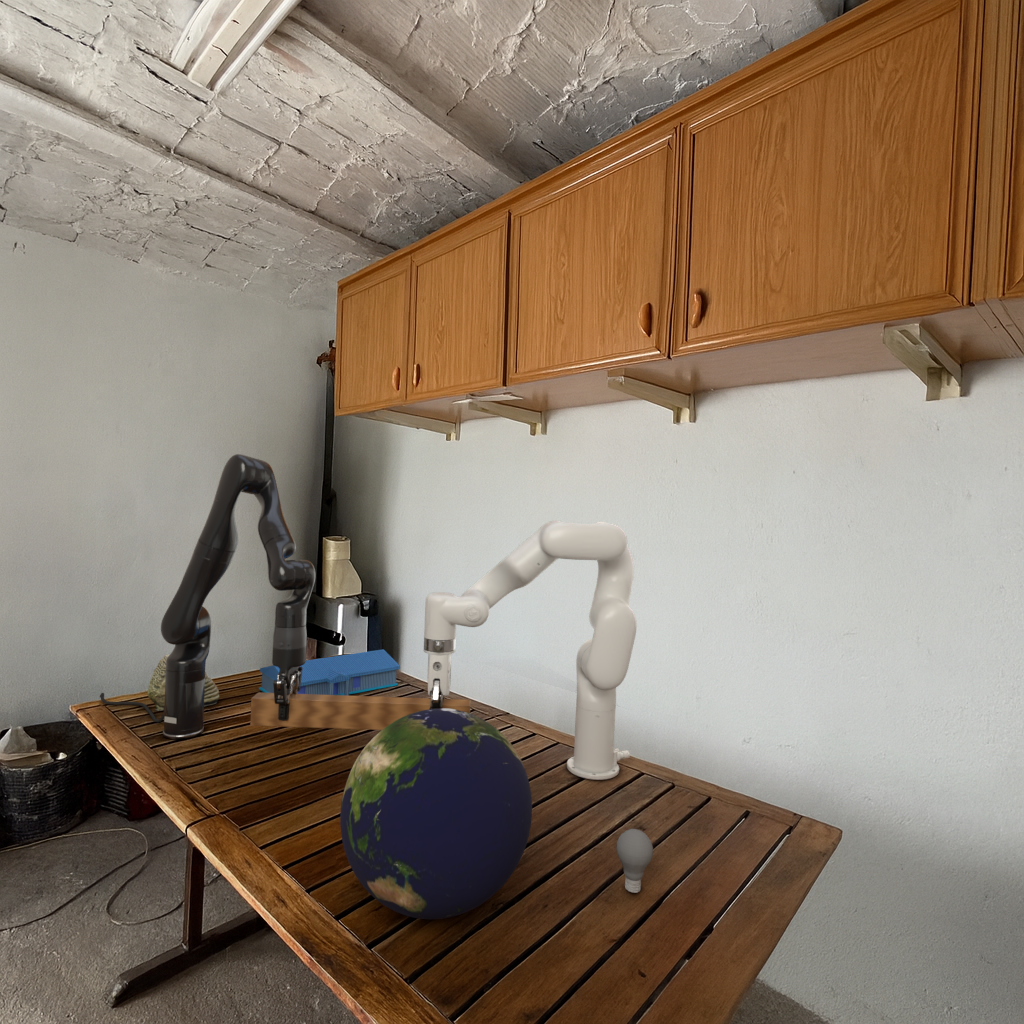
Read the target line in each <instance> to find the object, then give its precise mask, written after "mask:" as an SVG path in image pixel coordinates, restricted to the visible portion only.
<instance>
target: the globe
mask: <svg viewBox="0 0 1024 1024" xmlns="http://www.w3.org/2000/svg"><path fill="white" fill-rule="evenodd" d="M374 736H375V737H374ZM374 736H373V737H374V738H373V737H372V738H373V739H372V738H371V740H369V742H368V743H367V744H366V745H365V746H364V748H363V749H362V750H361V752H360V753H359V754H358V756H357V758H356V760H355V761H354V762H353V765H352V767H351V769H350V772H349V774H348V776H347V779H346V782H345V785H344V788H343V791H342V797H341V804H340V813H339V814H340V815H339V816H340V817H339V819H340V820H339V821H340V822H339V824H340V835H341V841H342V845H343V850H344V853H345V856H346V858H347V862H348V864H349V866H350V868H351V870H352V873H354V876H355V877H356V878H357V880H358V882H359V884H361V886H362V887H363V888H364V890H366V891H367V892H368V893H369V895H370V896H372V897H373V899H375V900H376V901H377V902H379V903H380V904H381V905H382V906H384V907H386V908H388V909H389V910H391V911H393V912H395V913H398V914H400V915H402V916H405V917H408V918H409V917H410V918H412V919H413V918H414V919H419V920H443V919H449V918H454V917H457V916H460V915H463V914H465V913H468V912H470V911H472V910H475V909H476V908H478V907H480V906H481V905H482V904H484V903H486V902H487V901H488V900H490V899H491V898H492V897H493V896H495V894H496V893H498V892H499V891H500V890H501V889H502V888H503V887H504V885H505V884H506V883H507V882H508V880H509V879H510V878H511V877H512V875H513V874H514V872H515V871H516V869H517V868H518V866H519V863H520V862H521V860H522V857H523V855H524V853H525V851H526V847H527V844H528V841H529V839H530V838H529V837H530V832H531V826H532V818H533V798H532V791H531V786H530V780H529V777H528V773H527V771H526V768H525V765H524V763H523V760H522V758H521V756H520V754H519V753H518V751H517V750H516V748H515V746H513V745H512V743H511V742H510V740H509V739H508V738H507V737H506V736H505V735H504V734H503V732H501V731H500V730H499V729H498V728H497V727H495V726H494V725H493V724H491V723H489V722H488V721H486V720H485V719H483V718H482V717H479V716H477V715H475V714H473V713H471V712H470V713H467V712H463V711H459V710H455V709H449V708H443V709H428V710H423V711H418V712H415V713H412V714H409V715H407V716H404V717H402V718H400V719H398V720H396V721H395V722H393V723H391V724H390V725H388V726H387V727H385V728H384V729H383V730H379V732H378V733H377V734H375V735H374Z"/></svg>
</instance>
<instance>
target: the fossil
mask: <svg viewBox="0 0 1024 1024" xmlns="http://www.w3.org/2000/svg"><path fill="white" fill-rule="evenodd" d="M169 655H170V654H165V655H164V656H163V657H162V658H161V659H160V660H159V662H158V663H157V666H156V667H155V669H154V670H153V672H152V675H151V677H150V680H149V684H148V688H147V697H148V699H149V700H150V701H152V703H153V704H154V706H155V711H158V712H159V711H162V712H163V711H164V705H165V674H166V659H167V657H168V656H169ZM220 698H221V696H220V690H219V688H218V686H217V685H216V683H215V682H214V681H213V679H212V678H211V677H209V675H208V674H207V672H206V671H205V693H204V707H207V706H213V705H215V704H217V703H218V701H219V699H220Z"/></svg>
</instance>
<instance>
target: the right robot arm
mask: <svg viewBox="0 0 1024 1024" xmlns="http://www.w3.org/2000/svg"><path fill="white" fill-rule="evenodd" d="M633 558H634V557H633V555H632V552H631V550H630V548H629V545H628V536H627V534H626V532H625V531H624V529H622V527H620V526H619V525H617V524H615V523H611V522H608V521H607V522H606V521H596V522H593V523H592V522H591V523H588V522H572V521H571V522H569V521H562V520H557V519H556V520H553V519H552V520H549V521H547V522H545V523H544V524H543V525H541V526H540V527H539V528H538V529H537V530H536V531H534V532H533V533H532V534H530V535H529V537H528V538H526V539H525V540H524V541H523V542H522V543H521V544H519V545H518V546H517V547H515V549H514V550H512V551H511V552H510V553H509V554H508V555H506V556H505V557H504V558H502V559H501V560H500V561H499V562H498V563H497V564H496V565H494V567H492V568H491V569H490V570H488V571H487V572H486V573H485V574H483V575H482V576H481V577H480V578H479V579H477V581H475V582H474V583H473V584H472V585H471V586H470V587H469V588H467V589H466V590H465V591H464V592H463V593H462V594H461V595H460V596H457V595H455V594H454V593H452V592H445V591H438V592H437V591H435V592H430V593H428V594H427V595H426V597H425V605H424V606H425V607H424V628H423V629H424V631H423V632H424V633H423V652H424V653H426V654H427V695H428V696H429V697H430V699H431V703H430V708H429V709H443V708H442V703H443V699H445V697H446V698H447V697H449V695H450V692H451V686H452V685H451V682H452V680H451V679H452V678H451V677H452V655H453V654H454V653H456V646H457V645H456V643H457V626H461V627H466V628H477V627H480V626H482V625H484V624H485V623H486V622H487V620H488V619H489V616H490V610H491V609H492V608H493V607H494V606H495V605H496V604H498V603H499V602H500V601H501V600H503V598H504V597H506V596H508V595H509V594H510V593H512V592H514V591H515V590H516V591H517V590H518V589H521V588H525V587H526V586H528V585H529V584H531V583H533V581H535V580H536V579H537V578H538V577H540V575H541V574H542V573H544V572H545V571H546V570H547V569H548V568H549V567H550V566H552V565H553V564H554V563H555V562H557V561H558V560H559V559H561V560H562V559H563V560H571V561H596V562H597V566H598V567H597V568H598V570H597V578H596V585H595V589H594V592H593V597H592V602H591V604H590V609H589V613H588V620H589V623H590V625H591V627H592V628H593V633H592V638H589V639H587V640H585V641H584V642H582V644H581V645H580V647H579V648H578V651H577V654H576V659H575V663H576V664H575V666H576V668H575V669H576V699H575V700H576V702H575V721H574V722H575V723H574V745H573V756H571V757H569V758H568V759H567V761H566V768H567V770H568V772H570V773H571V774H573V775H574V776H577V777H580V778H582V779H587V780H593V781H594V780H595V781H604V780H610V779H613V778H615V777H616V776H618V775H619V774H620V766H619V764H618V762H619V761H621V760H627V759H630V758H631V753H630V751H629V750H628V749H627V750H620V749H619V748H615V732H616V731H615V730H616V729H615V728H616V709H617V688H618V687H619V686H620V685H621V684H622V683H623V682H624V680H625V678H626V676H627V673H628V670H629V666H630V663H631V657H632V653H633V649H634V644H635V640H636V635H637V627H638V626H637V625H638V623H637V618H636V614H635V612H634V610H633V609H632V608H631V607H630V601H631V595H632V588H633V582H634V576H635V564H634V559H633ZM439 699H440V700H439Z"/></svg>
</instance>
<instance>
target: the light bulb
mask: <svg viewBox="0 0 1024 1024" xmlns="http://www.w3.org/2000/svg"><path fill="white" fill-rule="evenodd" d="M615 849H616V854H617V857H618V859H619V861H620V863H621V865H622V867H623V873H624V874H623V875H624V876H625V878H624V888H625V890H627V891H628V892H630V893H634V894H635V893H639V892H640V891H641V889H642V887H641V886H642V879H643V877H644V875H645V871H646V868H647V867H648V866H649V864H650V863H651V861H652V859H653V855H654V847H653V843H652V841H651V838H649V836H648V835H647V834H646V833H645V832H643V831H642V830H641V829H636V828H629V829H627V830H625V831H623V832H622V833H621V834H620V835H619V837H618V839H617V841H616V847H615Z"/></svg>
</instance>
